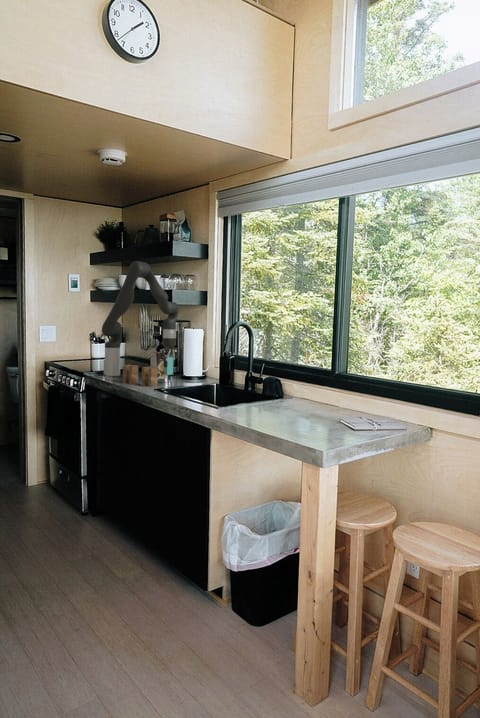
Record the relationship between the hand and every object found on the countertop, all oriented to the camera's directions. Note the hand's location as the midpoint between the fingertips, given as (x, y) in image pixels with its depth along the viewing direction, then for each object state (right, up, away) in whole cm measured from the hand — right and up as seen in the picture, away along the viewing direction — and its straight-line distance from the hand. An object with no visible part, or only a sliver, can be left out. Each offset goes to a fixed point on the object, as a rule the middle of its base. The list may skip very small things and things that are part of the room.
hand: (168, 366), depth 300 cm
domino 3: (-11, -10, -9) cm, 17 cm away
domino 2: (-20, -9, -3) cm, 22 cm away
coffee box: (-9, -8, +21) cm, 24 cm away
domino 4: (-7, -10, -11) cm, 17 cm away
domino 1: (-24, -9, 0) cm, 25 cm away
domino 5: (0, -4, 0) cm, 4 cm away
